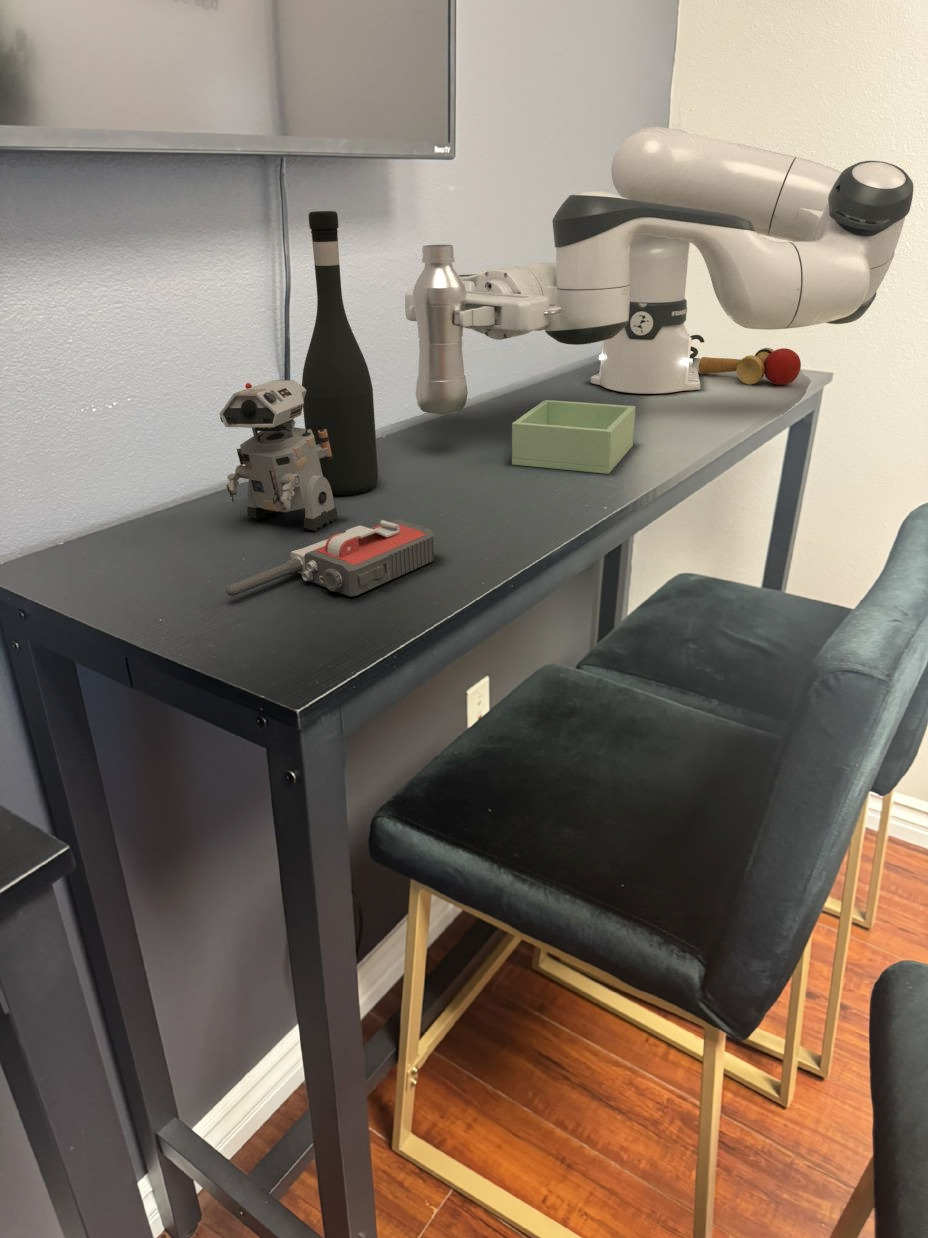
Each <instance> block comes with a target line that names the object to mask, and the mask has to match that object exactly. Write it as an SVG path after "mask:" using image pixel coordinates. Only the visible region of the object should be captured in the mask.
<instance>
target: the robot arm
mask: <svg viewBox="0 0 928 1238" xmlns="http://www.w3.org/2000/svg"><path fill="white" fill-rule="evenodd" d="M611 162H612V163H611V168H610V169H611V173H610V174H611V180H612V183H613V186H614V188H615V190H616V192H617V193H618V194H615V193H612V192H608V191H603V190H583V191H579V192H576V193H574V194H570V195H569V196H567V198H566V199H565V200H564V202H563V203H562V204H561V205H560V206H559V208H558V209H557V211H556V212H555V214H554V216H553V218H552V220H551V221H552V231H553V232H552V233H553V242H554V248H555V262H537V263H536V262H535V263H530V264H527V265H526V266H517V265H516V266H508V267H502V268H494V269H490V270H485V271H481V272H478V273H474V274H458V275H459V276H460V278H461V280H462V281H463V283H464V285H465V289H466V300H465V302H466V304H465V310H464V309H462V310H457V311H455V312H454V325H455V326H460V327H463V329H468V330H472V331H475V332H476V333H479V334H482V335H485V336H486V337H488V338H490V339H492V340H497V341H502V340H506V339H511V338H515V337H519V336H525V335H527V334H529V333H531V332H534V331H535V332H538V331H539V332H541V331H544V332H545V333H546V334H547V336H549V337H551V338H552V339H553V340H555V341H556V342H558V343H561V344H564V345H571V346H572V345H573V346H575V345H576V346H577V345H578V346H581V345H589V344H594V343H600V342H602V343H601V344H602V345H601V354H599V356H598V360H599V361H600V364H599V373H597V374H594V375H591V376H590V381H589V383H590V384H594V385H597V386H601V387H603V388H605V389H608V390H610V391H614V392H615V391H616V392H620V393H627V394H641V395H642V394H643V395H645V394H646V395H647V394H648V395H649V394H651V395H653V394H654V395H655V394H670V393H677V392H683V391H696V390H701V380H700V376H699V369H698V368H697V367H695V366H694V362H695V360H694V358H696V357H697V356H698V355H699V350H698V349H697V348H696V347H695V346H692V341H693V340H697V341H699V343H701V344H702V343H703V344H704V343H705V339H704V337H703V336H702V335H700V334H693V335H692V334H691V335H690V333H689V332H688V331H687V328H686V324H685V322H687V313H688V305H687V304H688V301H687V299H686V287H687V278H688V277H687V275H688V267H689V266H688V264H689V254H690V245H691V244H692V245H693V246H695V247H696V249H697V250H698V251H699V253H700V254H701V256H702V258H703V260H704V263H705V265H706V268H707V270H708V274H709V277H710V281H711V285H712V288H713V291H714V294H715V296H716V299H717V301H718V303H719V304H720V307H721V308H722V310H723V311H724V313H725V314H726V316H728V318H729V319H730V320H732V321H733V322H734V323H735V324H737V325H739V326H740V327H742V328H745V329H752V330H763V331H764V330H771V331H772V330H786V329H796V328H804V327H810V326H815V325H820V324H830V325H845V324H849V323H852V322H853V323H854V322H856V321H857V320H859V319H860V318H862V316H864V314H866V312H867V311H868V310H869V308H870V307H871V305H872V304H873V302H874V301H875V299H876V298H877V292H878V289H879V288H880V286H881V284H882V282H883V281H884V279H885V277H886V274H887V272H888V271H889V268H890V266H891V265H892V262H893V260H894V257H895V253H896V248H897V245H898V243H899V241H900V237H901V233H902V231H903V227H904V223H905V220H906V217H907V216H908V215H909V213H910V211H911V207H912V203H913V197H914V183H913V180H912V179H911V176H909V175H908V173H906V171H905V170H904V169H902V168H901V167H899V166H898V165H895V164H893V163H889V162H886V161H880V160H864V161H860V162H857V163H854V164H851V165H850V166H848V167H846V168H845V169H843V170H842V171H841V170H837V169H835V168H832V167H831V166H828V165H826V164H823V163H820V162H817V161H813V160H810V159H806V158H803V157H799V156H795V155H789V154H786V153H781V152H777V151H772V150H767V149H764V148H760V147H759V148H758V147H756V146H750V145H745V144H740V143H736V142H731V141H726V140H721V139H718V138H717V139H716V138H712V137H708V136H702V135H698V134H693V133H689V132H688V131H685V130H682V129H677V128H670V127H662V126H647V127H643V128H640V129H638V130H636V131H634V132H633V133H631V134H630V135H629V136H627V138H625V140H623V141H622V142H621V144H620V145H619V146H618V147H617V149H616V151H615V153H614V155H613V158H612V161H611ZM764 236H765V237H764ZM766 237H770V238H774V239H777V240H782V241H775V240H772V239H768V238H766ZM413 290H414V288H412V289H409V290H407V292H406V293H405V295H404V311H405V318H406V320H408V321H411V322H416V323H417V319H416V313H415V307H414V301H413ZM691 352H692V353H691Z"/></svg>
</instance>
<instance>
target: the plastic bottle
mask: <svg viewBox="0 0 928 1238" xmlns="http://www.w3.org/2000/svg"><path fill="white" fill-rule="evenodd" d="M455 259H456V258H455V255H454V245H453V244H425V245H422V258H421V262H422V263H423V264H424V268H423V270H422V271H421V273H420V275H419V276H418V278H417V280H416V281H415V284H414V286H413V289H414V290H413V301H414V307H415V313H416V319H417V322H416V325H417V336H418V340H419V341H418V348H419V349H418V351H419V352H418V369H417V370H418V371H417V372H418V373H417V374H418V376H417V377H416V385H415V399H416V404H417V406H418V407H419V409H420V410H421V412H424V413H427V414H434V415H449V414H453V413H458V412H460V411H462V410H463V409H464V408H465V406H466V404H467V400H468V395H469V394H468V393H469V392H468V391H469V390H468V386H467V385H468V384H467V379H466V375H465V367H464V355H463V332H464V327H460V326H455V325H454V312H455V311H457V310H462V309H464V310H465V304H466V302H465V300H466V289H465V285H464V283H463V281H462V280H461V278H460V276H459V275H460V274H458V272H457V271H456V269H455V268H454V267H453V263H455Z"/></svg>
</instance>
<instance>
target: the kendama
mask: <svg viewBox="0 0 928 1238" xmlns="http://www.w3.org/2000/svg"><path fill="white" fill-rule="evenodd" d="M801 368H802V362H801V357H800V356H799V354H798V353H797V352H796V351H794V350H792V349H789V348H787V347H785V348H783V347H782V348H778V349H777V348H776V349H775V350H774V349H773V348H770V347H763V348H760V349H759V350H758V351H756V353H755V354H754V355H753V354H752V355H751V354H750V355H746V356H744V357H743V358H741V359H739V358H725V357H709V356H702V357H701V358H700V359H699V362H698V372H699V373H700V375H707V374H708V375H710V374H721V373H732V372H733V373H734V372H736V375H737V377H738V379H739V380H740V381H741V382H742V383H744V384H746V385H755V384H757V383H758V382H761V381H762V380H763V378H764V377H765V378H766V379H767V380H768V382H770V383H772V384H773V385H777V386H784V385H789V384H792V383H793V382H794V381H795V380H796V379H797V378H798V376H799V374H800V372H801Z"/></svg>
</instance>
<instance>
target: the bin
mask: <svg viewBox="0 0 928 1238" xmlns="http://www.w3.org/2000/svg"><path fill="white" fill-rule="evenodd" d="M635 422H636V406H635V405H623V404H607V403H595V402H594V403H593V402H581V401H565V400H554V399H544V400H543V401H541V402H540V403H538V404H537V405H536V406H534V407H533V408H531V409H529V411H527V412H526V413H524V414H523V415H521V416H520V417H519V418H518V419H516V420H515V421H513V422H512V423H511V465H513V466H523V467H534V468H543V469H553V470H554V469H555V470H565V471H573V472H574V471H575V472H585V473H593V474H594V473H595V474H596V473H597V474H604V475H609V474H610V473H611V472H612V471H613V469H615V467H617V465H618V464H619V463H620V462H621V460H622V459H623V458H624V457H625V456H626V454H627V453H628V452H629V451H630V450H631V449H632V448H633V446H634V437H635Z"/></svg>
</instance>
